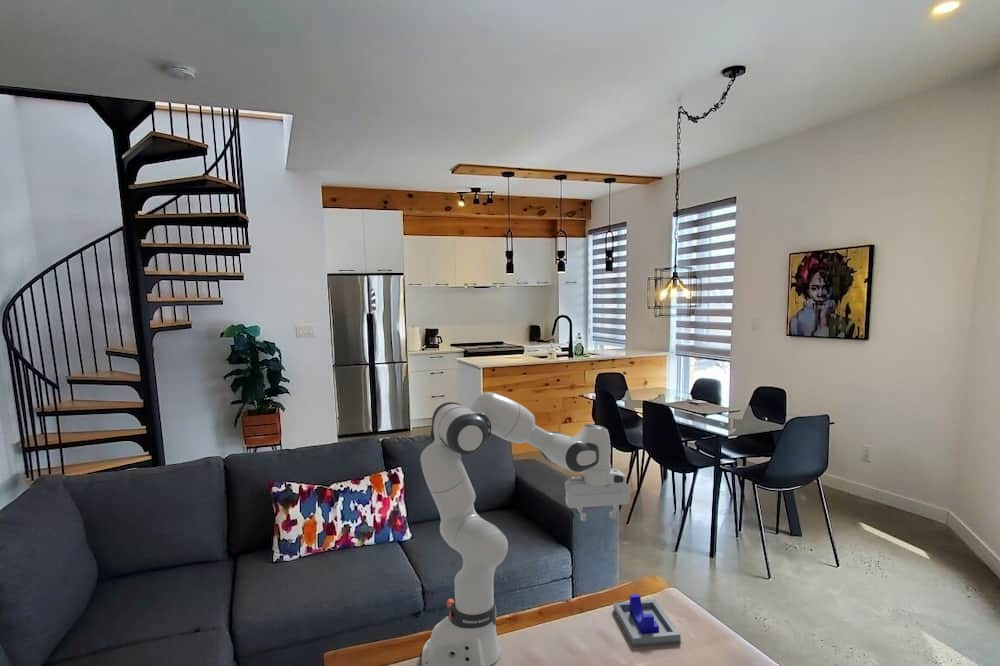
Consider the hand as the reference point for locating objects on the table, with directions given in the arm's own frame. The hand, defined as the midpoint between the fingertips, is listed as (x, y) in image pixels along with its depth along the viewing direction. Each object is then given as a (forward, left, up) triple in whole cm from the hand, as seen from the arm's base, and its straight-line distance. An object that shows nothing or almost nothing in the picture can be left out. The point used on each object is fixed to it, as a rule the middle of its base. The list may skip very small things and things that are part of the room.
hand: (598, 519), depth 154 cm
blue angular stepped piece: (+11, -7, -30) cm, 33 cm away
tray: (+12, -7, -31) cm, 34 cm away
